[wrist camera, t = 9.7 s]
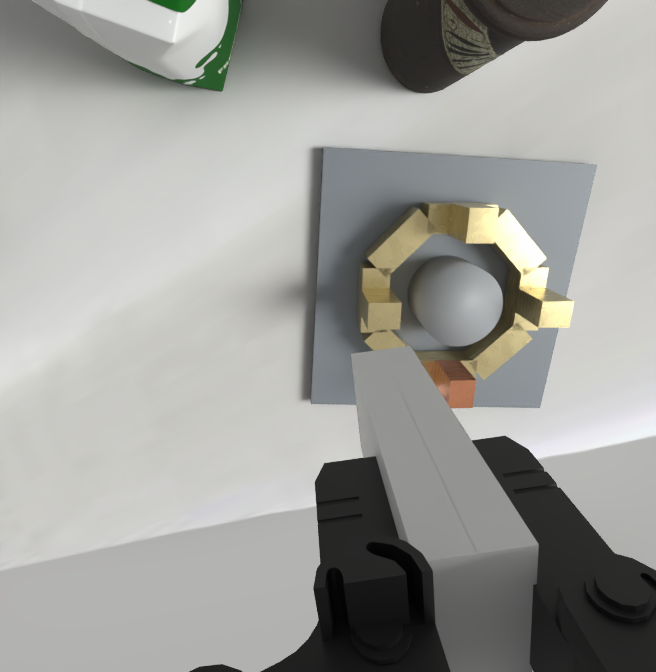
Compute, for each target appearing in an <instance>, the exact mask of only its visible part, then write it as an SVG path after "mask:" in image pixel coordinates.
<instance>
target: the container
mask: <svg viewBox="0 0 656 672" xmlns="http://www.w3.org/2000/svg"><path fill="white" fill-rule="evenodd" d="M607 1H608V0H388V2H387V4H386V7H385V10H384V13H383V17H382V23H381V45H382V51H383V55H384V58H385V61H386V63H387V65H388V67H389V69H390V71H391V72H392V74H393V75H394V76H395V78H396V79H397V80H398V81H399V82H400V83H401V84H403V85H404V86H405V87H407V88H409V89H411V90H413V91H416V92H420V93H432V92H437V91H440V90H443V89H444V88H446V87H448V86H450V85H451V84H453V83H455V82H456V81H458V80H460V79H461V78H463V77H465V76H467V75H468V74H470V73H472V72H474V71H475V70H477V69H479V68H480V67H482V66H483V65H485V64H487V63H489V62H490V61H492V60H494V59H496V58H497V57H499V56H501V55H502V54H504V53H505V52H507V51H509V50H510V49H512V48H514V47H515V46H517V45H519V44H521V43H523V42H524V41H541V40H546V39H551V38H554V37H557V36H560V35H563V34H565V33H567V32H569V31H571V30H573V29H575V28H576V27H578V26H579V25H581V24H583V23H584V22H585V21H587V20H588V19H589V18H590V17H591V16H593V15H594V14H595V13H596V12H597V11H598V10H599V9H600V8H601V7H602V6H603V5H604V4H605V3H606V2H607Z"/></svg>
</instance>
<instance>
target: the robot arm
mask: <svg viewBox="0 0 656 672" xmlns="http://www.w3.org/2000/svg"><path fill="white" fill-rule="evenodd" d="M351 359H352V368H353V377H354V387H355V396H356V405H357V414H358V423H359V433H360V442H361V449H362V453H363V457H364V458H358V459H351V460H344V461H337V462H330V463H324V465H323V467H322V469H321V471H320V473H319V475H318V477H317V479H316V481H315V491H316V504H317V520H318V534H319V548H320V563H321V564H320V565H319V567H318V568H317V571H316V577H315V583H314V594H315V600H316V606H317V612H318V618H319V621H318V624H317V626H316V627H315V629H314V631H313V632H312V634H311V636H310V637H309V639H308V640H307V641H306V642H305V643H304V644H303V645H302V646H301V647H300V648H299V649H298V650H297V651H296V652H294V653H293V654H291V655H290V656H288V657H287V658H285V659H284V660H282V661H281V662H279V663H277V664H275V665H273V666H271V667H269V668H267V669H265V670H263V671H261V672H532V669H533V671H534V672H656V570H654V569H652V568H650V567H648V566H646V565H644V564H642V563H640V562H638V561H637V560H635V559H633V558H629V557H625V556H622V555H617V554H615V553H614V552H613V551H612V550H611V549H610V548H609V547H608V545H607V544H606V543H605V542H604V541H603V539H602V538H601V537H600V536H599V534H598V533H597V532H596V531H595V529H594V528H593V527H592V526H591V525H590V523H589V522H588V521H587V520H586V519H585V517H584V516H583V515H582V514H581V513H580V511H579V510H578V509H577V508H576V507H575V505H574V504H573V503H572V502H571V500H570V499H569V498H568V497H567V496H566V494H565V493H564V492H563V491H562V490H561V488H558V487H557V484H556V482H555V481H554V480H553V479H552V477H551V476H550V475H549V474H548V473H547V472H544V468H543V467H542V466H541V464H540V463H539V462H538V461H537V459H536V458H535V457H534V456H533V454H532V453H531V452H530V451H529V450H528V449H527V448H525V447H523V446H522V445H520V444H518V443H517V442H515V441H513V440H511V439H510V438H508V437H506V436H500V437H493V438H486V439H479V440H472V441H471V439H470V438H469V436H468V434H467V433H466V431H465V430H464V428H463V427H462V425H461V424H460V422H459V421H458V419H457V417H456V416H455V414H454V413H453V411H452V410H451V408H450V407H449V405H448V404H447V402H446V400H445V399H444V397H443V396H442V394H441V393H440V391H439V390H438V388H437V387H436V385H435V383H434V382H433V380H432V379H431V377H430V376H429V374H428V373H427V371H426V370H425V368H424V367H423V365H422V363H421V362H420V360H419V359H418V357H417V356H416V354H415V353H414V351H413V350H412V348H411V346H405V347H398V348H390V349H383V350H376V351H368V352H361V353H354V354H351ZM190 672H242V671H241V670H238V669H235V668H232V667H229V666H226V665H223V664H221V665H211V666H203V667H198V668H196V669H194V670H192V671H190Z"/></svg>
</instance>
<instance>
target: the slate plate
mask: <svg viewBox="0 0 656 672" xmlns="http://www.w3.org/2000/svg"><path fill="white" fill-rule="evenodd" d="M596 167H597V165H596V164H580V163H565V162H549V161H533V160H518V159H502V158H486V157H470V156H455V155H439V154H423V153H408V152H392V151H376V150H361V149H345V148H329V147H323V161H322V181H321V202H320V222H319V242H318V262H317V283H316V303H315V323H314V343H313V364H312V384H311V404H346V405H356V396H355V387H354V377H353V368H352V359H351V354H354V353H361V352H368V351H374V350H372V349H371V348H370V347H369V346H368V345H367V344H366V343H365V342H364V340H363V337H362V335H361V332H360V330H359V327H358V325H357V310H358V281H359V263H371V262H370V261H369V260H368V259H367V257H366V256H365V255H364V252H365V251H366V250H367V249H368V248H369V247H370V246H371V245H372V244H373V243H374V242H375V241H376V240H378V239H379V238H380V237H381V236H382V235H383V234H384V233H385V232H386V231H387V230H388V229H389V228H390V227H391V226H392V225H393V224H394V223H395V222H396V221H397V220H398V219H399V218H400V217H401V216H402V215H403V214H404V213H405V212H406V211H407V210H408V209H409V208H410V207H411V206H413V207H416V208H418V209H420V210H421V204H422V202H483V203H492V204H497V205H498V207H499V208H504V209H508V210H509V212H510V213H511V214H512V215H513V217H514V218H515V219H516V220H517V222H518V223H519V224H520V225H521V227H522V228H523V229H524V230H525V232H526V233H527V234H528V235H529V237H530V238H531V239H532V240H533V242H534V243H535V244H536V245H537V247H538V248H539V249H540V250H541V252H542V253H543V254H544V255H545V257H546V259H545V260H544V261H543V262H542V263H541V265H543V266H546V267H548V268H549V270H548V276H547V282H546V287H545V288H548V289H550V290H552V291H554V292H556V293H558V294H560V295H562V296H564V297H566V294H567V290H568V286H569V282H570V277H571V273H572V269H573V265H574V261H575V256H576V252H577V248H578V244H579V239H580V235H581V231H582V227H583V222H584V218H585V214H586V210H587V205H588V201H589V197H590V193H591V188H592V184H593V180H594V176H595V171H596ZM508 272H509V267H508V266H507V265H506V263H505V262H504V261H503V260H502V259H501V257H500V256H499V255H498V254H497V253H496V251H495V250H494V249H493V248H492V247H491V245H490V244H489V243H464V242H462V241H459V240H457V239H455V238H453V237H451V236H448V234H432V235H431V236H430V237H429V238H428V239H427V240H426V241H425V242H424V243H423V244H422V245H421V246H420V247H419V248H418V249H416V250H415V251H414V252H413V253H412V254H411V255H410V256H409V257H408V258H407V259H406V260H405V261H404V262H403V263H402V264H401V265H400V266H399V267H397V268H396V269H395V270H394V271H393V272H392V273H391V274H390V289H391V290H392V291H393V292H394V294H395V295H396V296H397V297H398V299H399V300H400V301H401V302H402V307H401V322H400V329H394V331H395V332H396V333H397V334H398V335H399V336H400V337H401V338H402V339H403V340H404V341H405V342H406V343H407V344H408V345H409V346H411V348H412V349H413V350H414V351H464V350H465V349H466V348H467V347H468V346H469V345H471V344H473V343H475V342H477V341H479V340H481V339H482V338H484V337H485V336H486V335H487V334H489V333H490V332H491V331H492V329H493V328H494V327H495V325H496V324H497V322H498V320H499V319H500V318H502V314H503V307H504V300H505V293H506V286H507V279H508ZM526 332H527V333H528V334H529V335H530V336H531V338H532V340H531V341H530V342H529V343H528V344H526V345H525V346H524V347H523V348H522V349H520V350H519V351H518V352H517V353H516V354H515V355H513V356H512V357H511V358H510V359H509V360H507V361H506V362H505V363H504V364H503V365H501V366H500V367H499V368H498V369H497V370H496V371H494V372H493V373H492V374H491V375H490V376H488V377H487V378H486V379H485V380H483V379H482V378H481V377H480V376H479V375H478V373H477V372H476V378H475V379H476V387H475V395H474V402H473V407H519V408H540V405H541V401H542V396H543V392H544V388H545V384H546V379H547V375H548V371H549V367H550V362H551V358H552V354H553V350H554V345H555V341H556V337H557V333H558V328H538V330H528V331H526Z"/></svg>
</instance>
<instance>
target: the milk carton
mask: <svg viewBox="0 0 656 672" xmlns="http://www.w3.org/2000/svg"><path fill="white" fill-rule="evenodd" d="M31 1H33V2H34V3H36V4H38V5H39V6H41V7H42V8H44V9H46V10H47V11H49V12H50V13H52V14H54V15H55V16H57V17H58V18H60V19H62V20H63V21H65V22H66V23H68V24H70V25H71V26H73V27H74V28H76V29H77V30H78V31H79V32H80V33H82V34H83V35H84V36H87V37H89V38H91V39H92V40H94V41H95V42H96V43H98V44H100V45H101V46H103V47H104V48H106V49H108V50H109V51H111V52H113V53H114V54H116V55H117V56H119V57H121V58H122V59H124V60H126V61H127V62H129V63H130V64H132V65H134V66H136V67H137V68H140V69H142V70H144V71H146V72H149V73H152V74H155V75H158V76H160V77H163V78H166V79H169V80H172V81H176V82H179V83H182V84H185V85H190V86H195V87H201V88H207V89H212V90H218V91H223V87H224V82H225V78H226V74H227V70H228V66H229V62H230V57H231V53H232V49H233V45H234V41H235V37H236V32H237V27H238V23H239V17H240V13H241V7H242V2H243V0H31Z"/></svg>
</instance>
